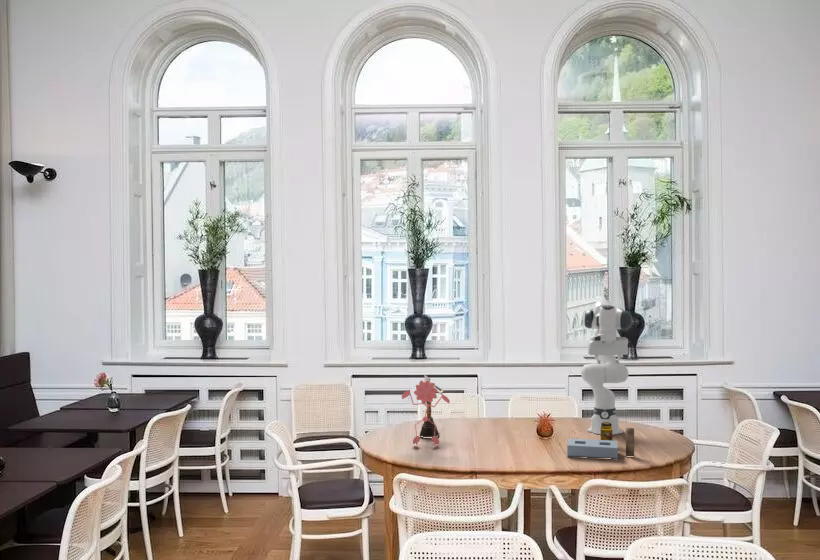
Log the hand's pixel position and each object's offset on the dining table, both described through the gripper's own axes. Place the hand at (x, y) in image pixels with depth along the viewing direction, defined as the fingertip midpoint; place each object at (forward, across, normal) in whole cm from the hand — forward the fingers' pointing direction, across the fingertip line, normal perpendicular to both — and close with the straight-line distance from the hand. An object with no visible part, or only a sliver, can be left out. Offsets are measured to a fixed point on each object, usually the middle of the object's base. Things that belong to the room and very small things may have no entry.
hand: (608, 363), depth 368 cm
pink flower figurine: (+44, +95, -7) cm, 105 cm away
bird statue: (+44, +91, -27) cm, 105 cm away
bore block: (+44, +11, +12) cm, 47 cm away
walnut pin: (+44, -7, +15) cm, 47 cm away
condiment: (+44, +1, -6) cm, 44 cm away
